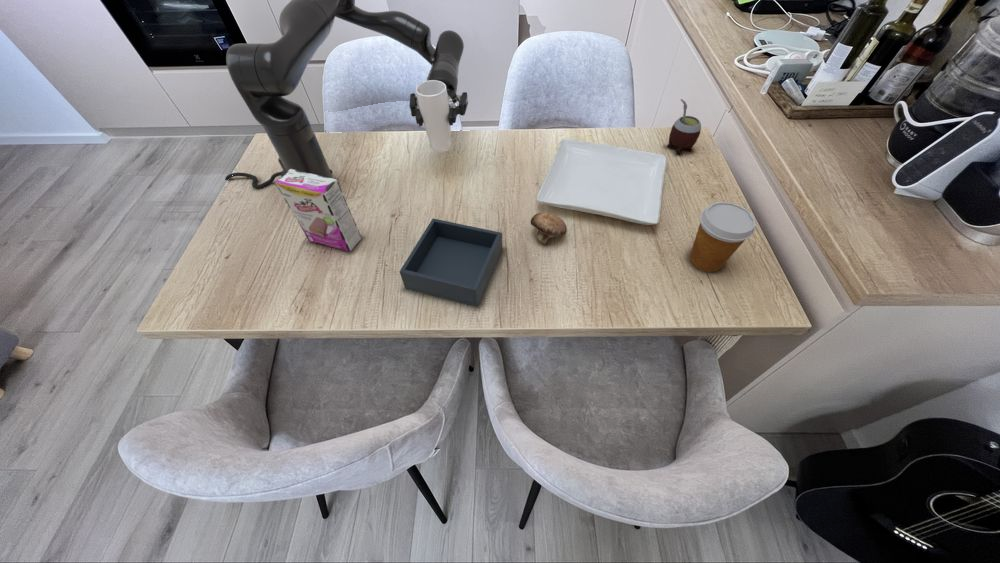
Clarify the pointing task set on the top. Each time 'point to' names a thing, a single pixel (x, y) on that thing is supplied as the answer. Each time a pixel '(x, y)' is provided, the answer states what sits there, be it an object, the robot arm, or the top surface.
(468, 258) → the tub
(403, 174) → the top surface
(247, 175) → the robot arm
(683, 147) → the mate gourd
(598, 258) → the top surface
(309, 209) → the candy bar box
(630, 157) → the square plate
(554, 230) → the mushroom
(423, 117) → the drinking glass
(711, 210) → the disposable coffee cup
